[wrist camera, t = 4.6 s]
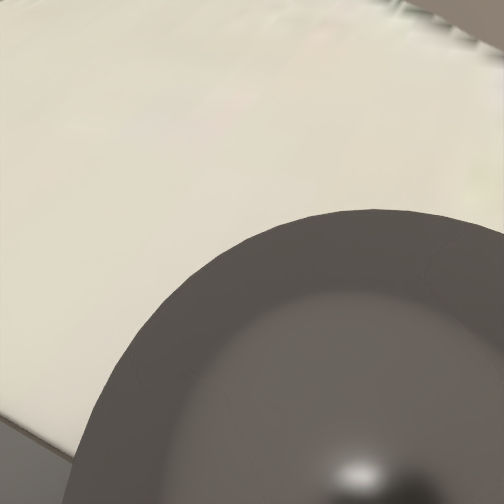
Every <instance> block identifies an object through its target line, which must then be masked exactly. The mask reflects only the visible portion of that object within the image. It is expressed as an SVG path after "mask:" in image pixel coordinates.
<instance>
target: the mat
mask: <svg viewBox="0 0 504 504" xmlns="http://www.w3.org/2000/svg"><path fill="white" fill-rule="evenodd" d="M73 461H74V459H72V458H71V457H69V456H67V455H66V454H64V453H62V452H61V451H59V450H57V449H56V448H54V447H52V446H50V445H49V444H47V443H45V442H44V441H42V440H40V439H39V438H37V437H35V436H34V435H32V434H30V433H29V432H27V431H25V430H24V429H22V428H20V427H18V426H17V425H15V424H13V423H12V422H10V421H8V420H7V419H5V418H3V417H2V416H0V504H61V503H62V500H63V496H64V493H65V489H66V486H67V482H68V479H69V475H70V471H71V468H72V464H73Z"/></svg>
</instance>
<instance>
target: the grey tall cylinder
mask: <svg viewBox="0 0 504 504" xmlns="http://www.w3.org/2000/svg"><path fill="white" fill-rule="evenodd" d="M61 504H504V234H502V233H500V232H497V231H494V230H491V229H488V228H485V227H483V226H480V225H476V224H472V223H468V222H464V221H460V220H456V219H452V218H448V217H444V216H439V215H432V214H426V213H419V212H412V211H401V210H379V209H370V210H353V211H340V212H334V213H328V214H322V215H317V216H311V217H307V218H303V219H300V220H296V221H293V222H290V223H286V224H283V225H279V226H277V227H274V228H272V229H270V230H267V231H265V232H262V233H260V234H258V235H255V236H253V237H251V238H248V239H246V240H245V241H243V242H241V243H239V244H238V245H236V246H234V247H233V248H231V249H229V250H227V251H226V252H224V253H222V254H220V255H219V256H217V257H216V258H215V259H213V260H212V261H210V262H209V263H208V264H206V265H205V266H204V267H202V268H201V269H200V270H198V271H197V272H196V273H194V274H193V275H192V276H190V277H189V278H188V279H187V280H186V281H185V282H184V283H183V284H182V285H181V286H180V287H179V288H178V289H177V290H175V291H174V292H173V293H172V294H171V295H170V296H169V297H168V298H167V299H166V300H165V301H164V302H163V303H162V304H161V305H160V307H159V308H158V309H157V310H156V311H155V313H154V314H153V315H152V316H151V317H150V318H149V320H148V321H147V322H146V323H145V324H144V326H143V327H142V328H141V329H140V330H139V331H138V333H137V334H136V336H135V337H134V339H133V340H132V342H131V343H130V345H129V346H128V348H127V349H126V351H125V352H124V354H123V355H122V357H121V358H120V360H119V361H118V363H117V364H116V366H115V368H114V370H113V372H112V373H111V375H110V377H109V379H108V381H107V383H106V385H105V387H104V389H103V391H102V393H101V395H100V396H99V398H98V400H97V402H96V404H95V406H94V408H93V411H92V413H91V416H90V418H89V421H88V423H87V426H86V428H85V431H84V434H83V436H82V439H81V441H80V444H79V446H78V449H77V451H76V454H75V457H74V461H73V464H72V468H71V471H70V475H69V479H68V482H67V486H66V489H65V493H64V496H63V500H62V503H61Z"/></svg>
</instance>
